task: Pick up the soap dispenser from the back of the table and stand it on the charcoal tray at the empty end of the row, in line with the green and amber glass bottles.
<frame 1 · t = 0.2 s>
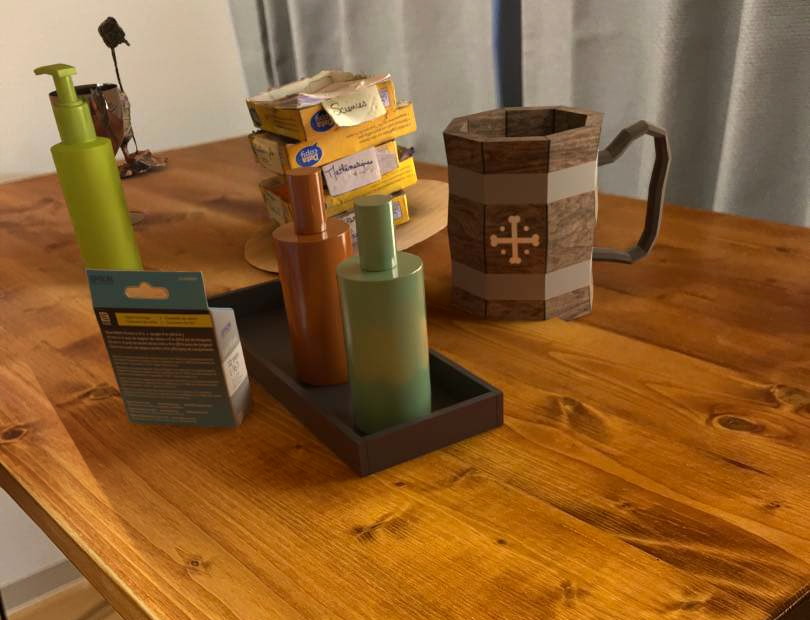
tray: (331, 379, 70), on the table
plant with pod: (133, 173, 132), on the table
mug: (554, 298, 80), on the table
amber bottle: (330, 370, 69), point 1 cm above the table, touching tray
soap dispenser: (114, 274, 95), on the table
green bottle: (393, 418, 62), point 1 cm above the table, touching tray
label tape box: (194, 425, 66), on the table
yellow box stack: (354, 241, 98), on the table
wine glass: (118, 221, 112), on the table
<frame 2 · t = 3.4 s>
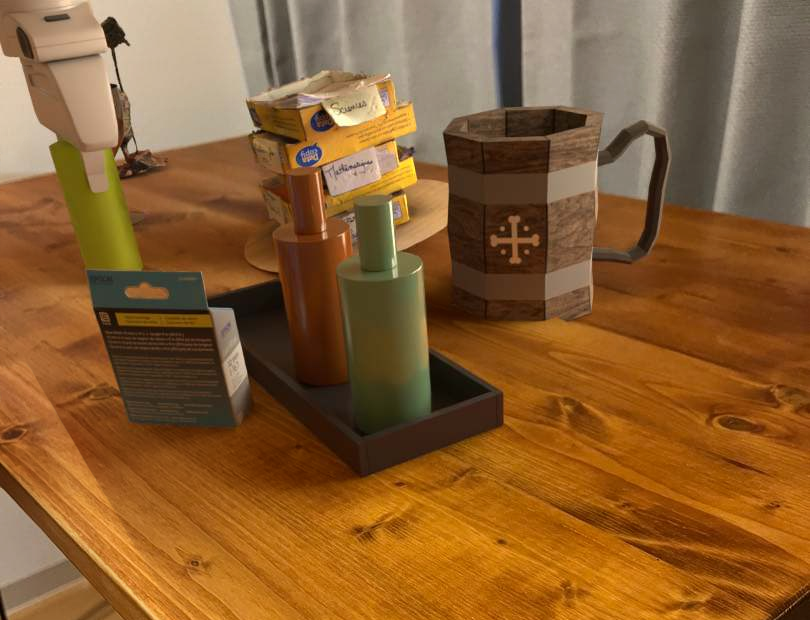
hand: (90, 183, 90), 9 cm above the table, tool pointing down, fingers closed on soap dispenser, 6 cm apart
soap dispenser: (114, 273, 95), on the table, touching gripper
everything else where it was.
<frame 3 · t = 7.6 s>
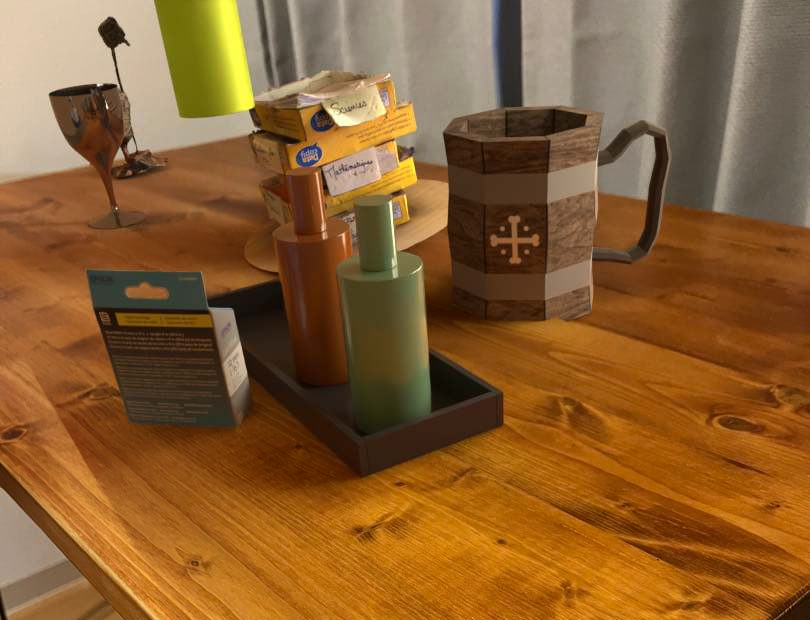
soap dispenser: (214, 113, 69), point 18 cm above the table, touching gripper
everything else where it was.
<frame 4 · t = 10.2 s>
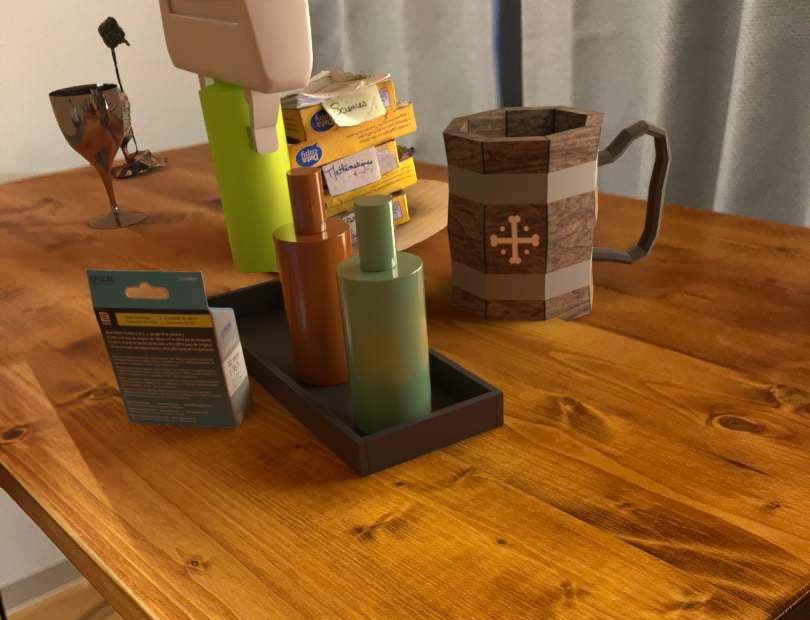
hand: (247, 144, 67), 16 cm above the table, tool pointing down, fingers closed on soap dispenser, 6 cm apart
soap dispenser: (266, 263, 73), point 7 cm above the table, touching gripper
everything else where it was.
when the fingers open (10 cm above the table, at t = 12.2 s): soap dispenser stays where it is, resting on tray.
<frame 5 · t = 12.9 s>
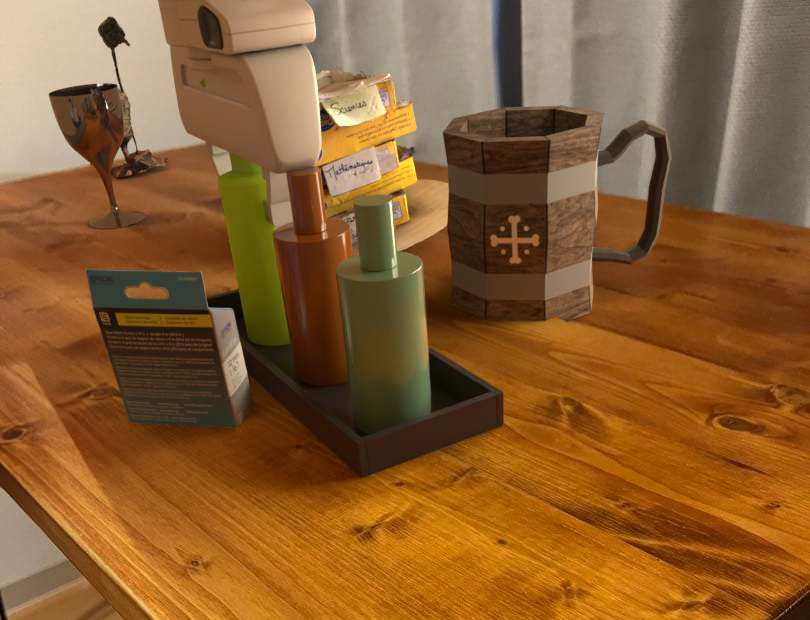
hand: (256, 210, 70), 11 cm above the table, tool pointing down, fingers open, 8 cm apart
soap dispenser: (278, 332, 77), point 1 cm above the table, touching tray
everything else where it was.
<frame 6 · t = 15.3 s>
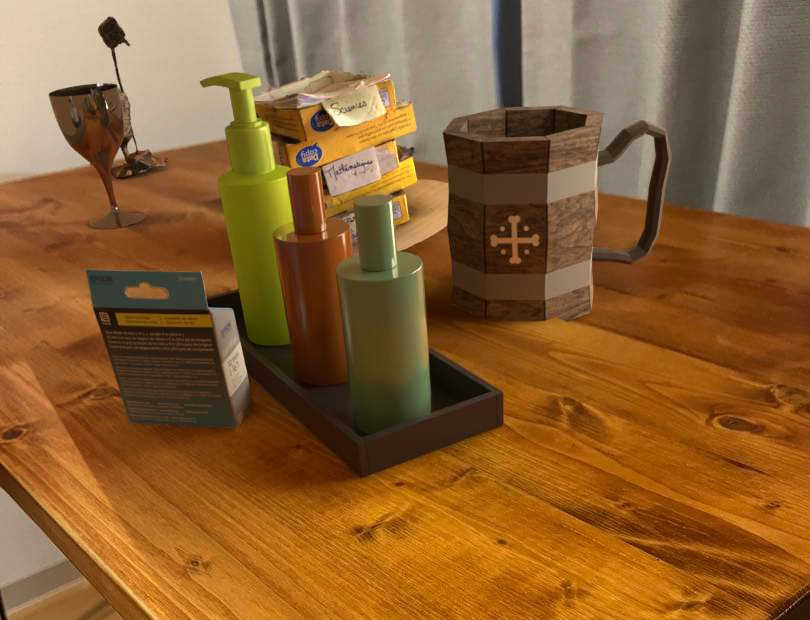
nothing on the table moved.
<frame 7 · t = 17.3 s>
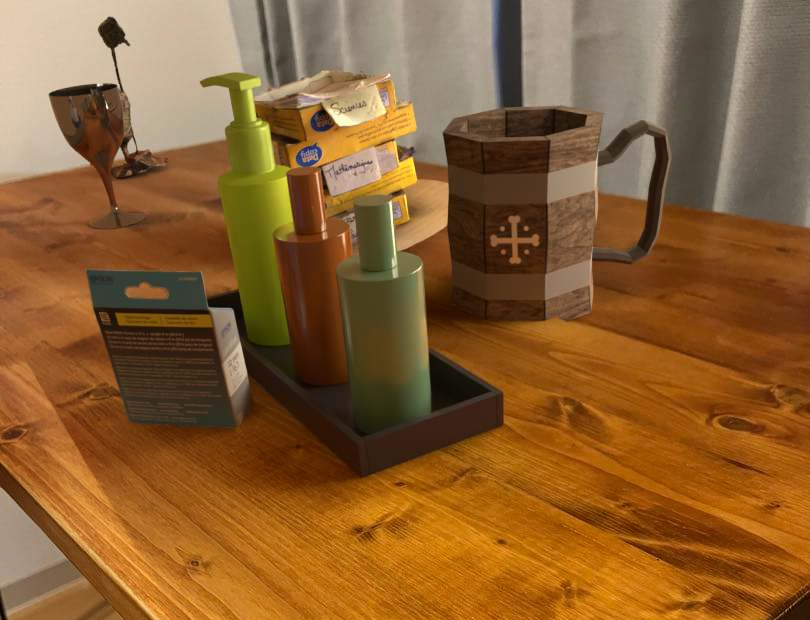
nothing on the table moved.
at the end: soap dispenser 0.1 cm from the target spot in the tray, point 0.6 cm above the tray's base; soap dispenser tilted 0°; amber bottle moved 0.0 cm from its start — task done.
